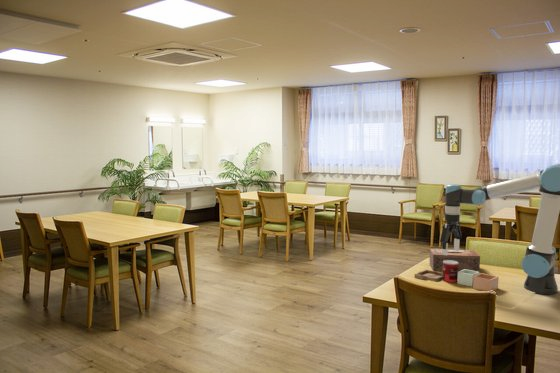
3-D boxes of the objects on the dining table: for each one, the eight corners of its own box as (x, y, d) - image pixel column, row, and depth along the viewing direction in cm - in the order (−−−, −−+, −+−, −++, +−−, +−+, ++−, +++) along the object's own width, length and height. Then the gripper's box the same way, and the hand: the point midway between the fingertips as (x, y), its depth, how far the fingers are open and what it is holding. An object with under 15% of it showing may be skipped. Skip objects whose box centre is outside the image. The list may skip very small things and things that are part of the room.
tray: (447, 277, 266) (447, 274, 266) (436, 282, 257) (436, 278, 257) (426, 273, 275) (426, 269, 275) (414, 277, 266) (414, 274, 266)
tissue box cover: (473, 266, 290) (474, 250, 289) (479, 273, 275) (480, 256, 274) (429, 264, 294) (430, 248, 293) (432, 271, 280) (433, 254, 279)
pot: (497, 289, 244) (498, 276, 244) (490, 293, 238) (491, 280, 238) (480, 286, 251) (480, 273, 250) (472, 289, 245) (473, 276, 244)
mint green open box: (478, 284, 253) (479, 271, 252) (472, 288, 247) (472, 274, 247) (464, 281, 259) (464, 269, 258) (457, 284, 253) (457, 271, 252)
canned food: (445, 278, 264) (445, 259, 262) (460, 281, 258) (460, 261, 257) (440, 282, 258) (440, 262, 257) (455, 284, 253) (455, 264, 252)
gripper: (456, 210, 266) (454, 247, 268) (434, 215, 248) (432, 255, 251) (469, 211, 260) (467, 250, 263) (447, 217, 243) (446, 258, 245)
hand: (450, 252), depth 257 cm, fingers open, 13 cm apart
